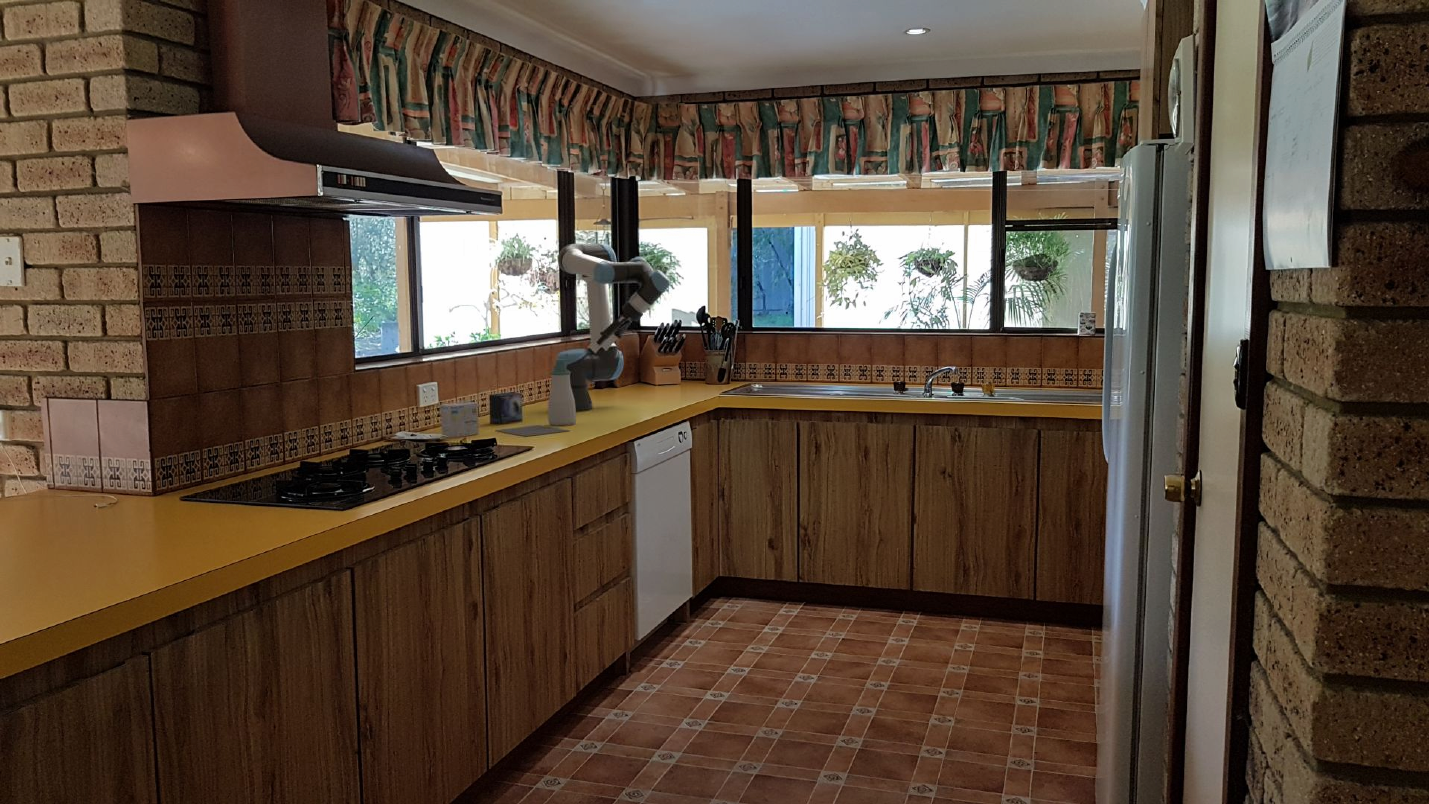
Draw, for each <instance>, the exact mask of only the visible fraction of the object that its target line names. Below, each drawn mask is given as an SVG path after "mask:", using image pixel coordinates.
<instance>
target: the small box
mask: <svg viewBox="0 0 1429 804" xmlns="http://www.w3.org/2000/svg"><path fill="white" fill-rule="evenodd" d="M488 399H489V424H494V425H506V424H514V423H520V422H521V423H522V422H523V403H522V401H523V400H522V399H523V398H522V392H521V393H520V392H512V391H511V392H510V391H509V392H501V393H492V394H489V395H488Z"/></svg>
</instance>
